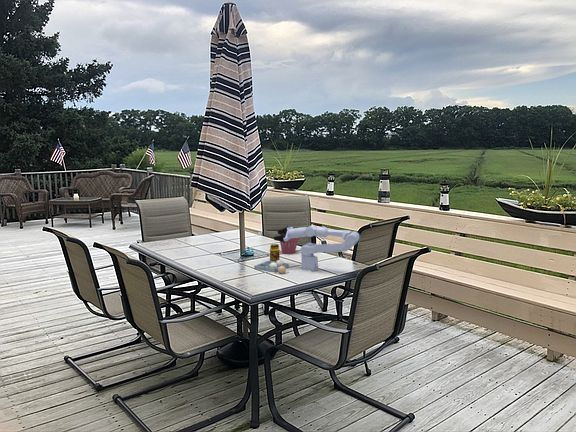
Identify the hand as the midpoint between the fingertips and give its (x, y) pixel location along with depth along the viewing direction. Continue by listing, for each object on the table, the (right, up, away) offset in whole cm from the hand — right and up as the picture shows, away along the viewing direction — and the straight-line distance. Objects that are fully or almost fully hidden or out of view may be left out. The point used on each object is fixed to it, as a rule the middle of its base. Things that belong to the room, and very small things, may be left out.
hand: (276, 235), depth 286 cm
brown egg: (+4, -21, -15) cm, 26 cm away
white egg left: (-1, -20, -9) cm, 22 cm away
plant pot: (+8, -14, +41) cm, 44 cm away
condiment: (-2, -18, +12) cm, 22 cm away
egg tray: (-3, -20, -4) cm, 21 cm away
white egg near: (+2, -19, -3) cm, 19 cm away
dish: (+4, -22, -15) cm, 27 cm away
